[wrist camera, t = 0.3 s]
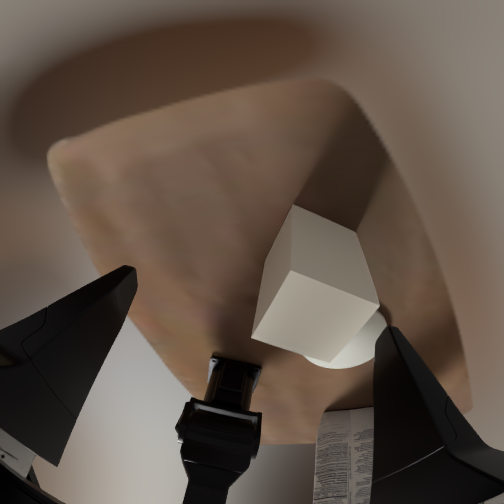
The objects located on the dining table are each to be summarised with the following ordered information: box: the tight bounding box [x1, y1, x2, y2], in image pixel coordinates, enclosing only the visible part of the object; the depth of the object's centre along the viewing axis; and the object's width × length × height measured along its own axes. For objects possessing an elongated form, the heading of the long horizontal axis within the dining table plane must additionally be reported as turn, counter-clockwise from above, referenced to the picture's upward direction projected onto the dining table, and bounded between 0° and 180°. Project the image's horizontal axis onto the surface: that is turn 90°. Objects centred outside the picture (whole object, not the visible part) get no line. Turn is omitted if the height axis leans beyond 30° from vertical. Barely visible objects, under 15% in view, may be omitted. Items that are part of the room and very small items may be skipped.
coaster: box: [304, 310, 387, 369], centre depth 30 cm, size 10×10×1 cm
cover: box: [251, 204, 380, 363], centre depth 22 cm, size 6×6×10 cm
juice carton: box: [313, 407, 374, 504], centre depth 29 cm, size 9×10×27 cm
